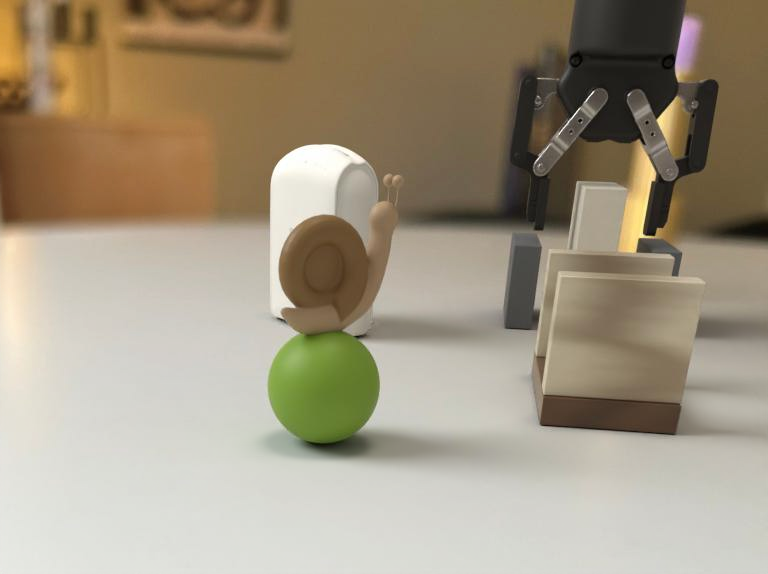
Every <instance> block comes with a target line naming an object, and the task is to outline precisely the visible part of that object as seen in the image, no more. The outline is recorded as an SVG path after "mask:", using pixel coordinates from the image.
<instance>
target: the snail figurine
mask: <svg viewBox="0 0 768 574" xmlns="http://www.w3.org/2000/svg"><path fill="white" fill-rule="evenodd" d="M382 180H383V181H382V182H383V184H384V186H385V187H387V200H383V201H382V200H381V201H378V203H377V204H376V205H375V206H374V207H373V208H372V210H371V212H370V215H369V223H370V235H369V239H368V243H367V247H366V248H365V246H364V243H363V240H362V238H361V237H360V235H359V233H358V232H357V230H356V229H355V228H354V227H353V226H352V225H351V224H350V223H348V222H347V221H345V220H344V219H342V218H340V217H337V216H334V215H326V214H323V215H317V216H313V217H310V218H308V219H306V220H304V221H303V222H301V223H300V224H299V225H297V226H296V227H295V228H294V229H293V231H292V232H291V233H290V234H289V236H288V237H287V239H286V241H285V243H284V245H283V248H282V250H281V254H280V258H279V267H278V272H279V281H280V284H281V288H282V290H283V292H284V294H285V295H286V297H287V298H288V299H289V300H290V302H291V303H292V304H293V305H294V306H295V307H296V308H290V307H285V308H282V309H281V315H282V317H283V319H282V320H283V321H285V322H286V324H288V325H289V327H290V328H291V329H293V330H294V331H295V332H297V334H296V335H294V336H293V337H291V338H290V339H289V340H287V342H285V344H283V345H282V346H281V347H280V349H279V350H278V351H277V353H276V355H275V356H274V358H273V360H272V362H271V365H270V368H269V372H268V377H267V394H268V400H269V401H268V402H269V404H270V407H271V410H272V412H273V414H274V416H275V417H276V419H277V420H278V422H279V423H280V425H282V426H283V427H284V429H286V431H288V432H289V433H290V434H292V435H293V436H295V437H296V438H298V439H301V440H304V441H306V442H309V443H314V444H332V443H333V444H334V443H337V442H340V441H343V440H346V439H348V438H350V437H352V436H354V435H355V434H356V433H358V432H359V431H360V430H361V429H363V427H364V426H365V425H366V424H367V423H368V421H370V419H371V417H372V416H373V414H374V412H375V409H376V407H377V405H378V401H379V398H380V389H381V379H380V373H379V369H378V366H377V362H376V360H375V358H374V357H373V355H372V353H371V351H370V350H369V349H368V347H367V346H366V345H365V344H364V343H363V342H362V341H361V340H360V339H359V338H357V337H356V336H352V335H351V334H349V333H347V332H344V331H342V330H344V329H345V328H347V327H348V326H350V325H351V324H353V323H354V322H355V321H357V320H358V319H360V318H361V317H362V316H363V315H364V314H365V313H366V312H367V311H368V310H369V309H370V307H371V306H372V304H373V305H374V302H375V300H376V298H377V296H378V294H379V291H380V289H381V286H382V283H383V281H384V277H385V274H386V271H387V266H388V262H389V259H390V254H391V250H392V249H391V248H392V239H393V236H394V235H393V234H394V232H395V229H396V228H397V226H398V223H399V211H398V208H397V206H398V202H399V193H400V188H402V187H403V185H404V182H405V181H404V178H403V176H402V175H400V174H396V175H393V174H392V173H388V174H385V176H384V177H383V179H382ZM392 186H393V187H394V188H395V189H396V198H395V199H396V200H395V203H392V202H390V195H391V187H392Z"/></svg>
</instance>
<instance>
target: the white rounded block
mask: <svg viewBox="0 0 768 574" xmlns="http://www.w3.org/2000/svg"><path fill="white" fill-rule="evenodd" d="M269 190H270V195H269V197H270V201H269V211H270V212H269V308H270V313H271V315H272V316H274V317H276V318H279V319H281V320H284V319H283V317H282V315H281V309H282V308H285V307H290V308H296V307H295V306H294V305H293V304H292V303H291V302H290V300H289V299H288V298H287V297H286V295H285V294H284V292H283V290H282V288H281V284H280V281H279V272H278V267H279V258H280V254H281V250H282V248H283V245H284V243H285V241H286V239H287V237H288V236H289V234H290V233H291V232H292V231H293V229H294V228H295V227H296V226H297V225H299V224H300V223H301V222H303V221H304V220H306V219H308V218H310V217H313V216H317V215H323V214H326V215H334V216H337V217H340V218H342V219H344V220H345V221H347V222H348V223H350V224H351V225H352V226H353V227H354V228H355V229H356V230H357V232H358V233H359V235H360V237H361V238H362V240H363V243H364V246H365V248H366V247H367V243H368V239H369V235H370V223H369V215H370V212H371V210H372V208H373V207H374V206H375V205H376V204H377V203H379V182H378V177H377V175H376V172H375V170H374V168H373V167H372V166H371V164H370V163H369V162H368V161H367V160H366V159H365V158H363V157H362V156H361V155H359V154H358V153H357V152H354V151H353V150H351V149H348V148H346V147H343V146H341V145H338V144H331V143H329V144H328V143H327V144H326V143H325V144H307V145H304V146H303V145H302V146H300V147H298V148H295V149H293V150H292V151H290V152H288V153H287V154H286V155H284V156H283V157H282V158H281V159H280V160H279V161H278V162H277V164H276V165H275V167H274V169H273V170H272V175H271V179H270V189H269ZM373 310H374V303H373V304H372V306H371V307H370V309H369V310H368V311H367V312H366V313H365V314H364V315H363V316H362V317H361V318H360V319H358V320H357V321H355V322H354V323H353V324H351V325H350V326H348V327H347V328H345V329H344V330H342V331H344V332H347V333H349V334H351V335H352V336H354V337H357V336H363V335H365V334H366V333H367V331H370V330H371V327H372V323H373V322H372V321H373V312H374V311H373Z"/></svg>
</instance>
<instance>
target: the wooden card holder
mask: <svg viewBox="0 0 768 574" xmlns="http://www.w3.org/2000/svg"><path fill="white" fill-rule="evenodd" d="M674 260H675V258H674V257H673V256H671V255H670V254H655V253H636V252H633V251H632V252H629V251H618V252H611V251H589V250H567V248H566V249H563V248H549V249H548V253H547V260H546V265H545V266H546V267H545V274H544V280H543V287H542V296H541V302H540V310H539V311H540V312H539V317H538V325H537V331H536V340H535V347H534V351H533V360H532V366H531V379H532V385H533V391H534V392H533V393H534V398H535V403H536V410H537V417H538V423H539V425H542V426H555V427H570V428H582V429H584V428H585V429H598V430H600V429H601V430H611V431H624V432H625V431H627V432H638V433H639V432H640V433H641V432H642V433H655V434H670V435H676V434H677V432H678V431H677V430H678V427H679V421H680V417H681V412H682V407H683V406H682V404H681V403H682V401H683V397H684V392H685V387H686V383H687V378H688V372H689V368H690V363H691V358H692V353H693V348H694V344H695V339H696V335H697V330H698V325H699V322H700V321H699V320H700V316H701V311H702V307H703V306H702V305H703V301H704V297H705V292H706V288H707V282H706V281H704V280H703V279H702V278H701V277H697V276H695V277H694V276H692V277H691V276H678V277H675V276H672V271H673V266H674Z"/></svg>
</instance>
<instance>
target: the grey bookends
mask: <svg viewBox="0 0 768 574" xmlns="http://www.w3.org/2000/svg"><path fill="white" fill-rule="evenodd" d="M542 249H543V246H542V244H541V241H540V238H539V236H538V233H536V232H516V231H515V232H514V231H513V232H512V233H511V240H510V247H509V257H508V265H507V274H506V282H505V290H504V299H503V307H502V309H503V322H504V328H505V329H517V330H518V329H519V330H531V329H532V325H533V318H534V317H533V315H534V310H535V302H536V295H537V287H538V279H539V272H540V264H541V256H542ZM635 253H655V254H670V255H671V256H673V257H674V258H675V260H674V266H673V271H672V276H675V277H679V274H680V269H681V263H682V258H683V252H682V251H681V250H680V249H678V248H677V247H675V246H674V245H673V244H671V243H670V242H668V241H667V240H666V239H664V238H654V237H653V238H652V237H651V238H650V237H638V239H637V244H636V249H635Z"/></svg>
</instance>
